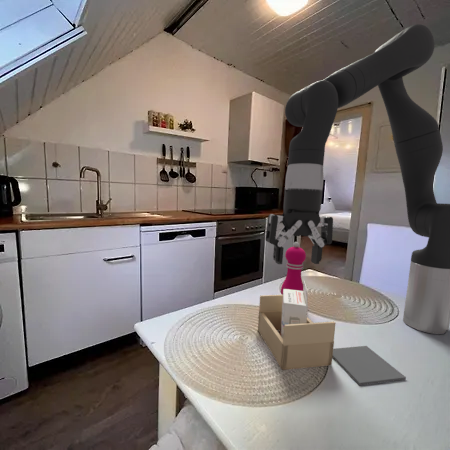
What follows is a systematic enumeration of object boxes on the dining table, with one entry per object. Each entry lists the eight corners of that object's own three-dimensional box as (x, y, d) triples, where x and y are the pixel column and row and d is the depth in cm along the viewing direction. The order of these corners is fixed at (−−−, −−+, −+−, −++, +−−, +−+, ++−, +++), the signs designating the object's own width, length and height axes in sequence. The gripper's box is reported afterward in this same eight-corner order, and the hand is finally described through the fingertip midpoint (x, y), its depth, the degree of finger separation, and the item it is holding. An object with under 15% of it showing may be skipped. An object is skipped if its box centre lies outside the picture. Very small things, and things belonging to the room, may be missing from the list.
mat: (366, 347, 57) (366, 345, 57) (405, 379, 47) (406, 377, 47) (326, 351, 55) (326, 349, 55) (359, 385, 45) (359, 382, 45)
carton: (297, 327, 65) (299, 293, 64) (331, 365, 50) (335, 322, 49) (257, 330, 62) (260, 295, 61) (282, 370, 48) (285, 326, 47)
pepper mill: (275, 301, 80) (279, 239, 78) (295, 299, 82) (299, 239, 80) (287, 311, 73) (292, 244, 71) (308, 309, 76) (314, 244, 73)
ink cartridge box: (279, 334, 61) (283, 275, 59) (300, 337, 60) (305, 277, 58) (279, 355, 53) (284, 288, 51) (304, 359, 52) (310, 291, 50)
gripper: (323, 189, 57) (317, 258, 59) (264, 186, 55) (259, 258, 57) (345, 189, 50) (337, 268, 52) (278, 185, 47) (272, 268, 49)
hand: (296, 263), depth 54 cm, fingers open, 8 cm apart
